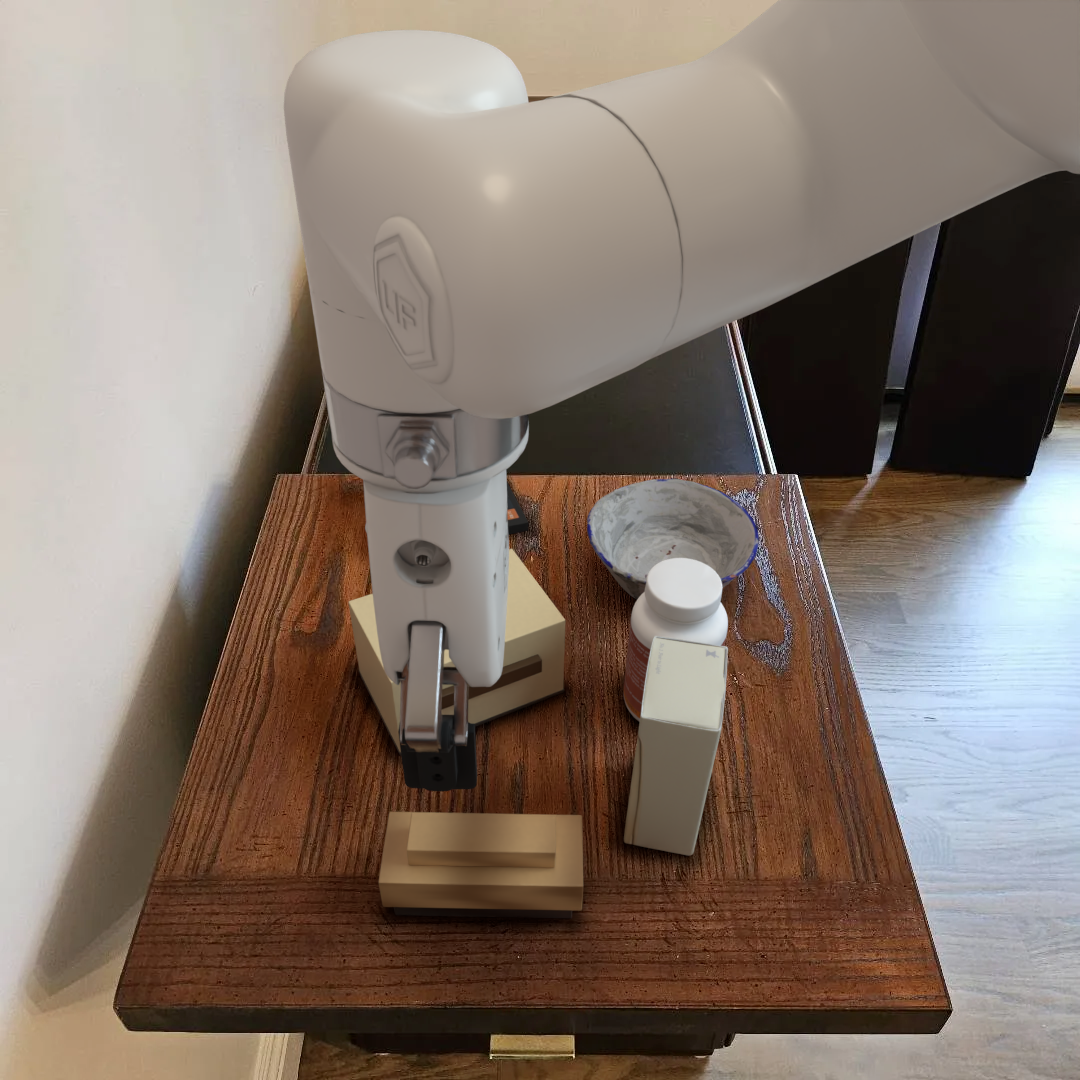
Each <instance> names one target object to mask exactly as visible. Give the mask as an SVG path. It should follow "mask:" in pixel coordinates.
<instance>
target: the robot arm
mask: <svg viewBox="0 0 1080 1080" xmlns="http://www.w3.org/2000/svg"><path fill="white" fill-rule="evenodd" d="M283 116H284V124H285V125H284V126H285V136H286V142H287V148H288V155H289V162H290V169H291V174H292V175H291V176H292V181H293V188H294V194H295V195H294V196H295V202H296V208H297V214H298V220H299V221H298V223H299V228H300V235H301V242H302V248H303V254H304V255H303V256H304V261H305V262H304V263H305V268H306V275H307V281H308V288H309V294H310V301H311V307H312V314H313V321H314V329H315V335H316V341H317V347H318V355H319V362H320V367H321V375H322V381H323V388H324V394H325V400H326V409H327V414H328V420H329V427H330V428H329V429H330V432H331V441H332V447H333V451H334V453H335V455H336V458H337V459H338V460H339V462H340V463H341V465H342V466H344V467H345V469H347V470H348V471H349V472H350V473H351V474H353V475H354V476H356V477H358V478H359V479H361V480H362V482H363V497H364V498H363V499H364V509H365V510H364V511H365V527H364V530H365V532H366V536H367V548H368V561H369V569H370V571H369V572H370V580H371V581H370V583H371V591H372V594H373V602H374V610H375V618H376V626H377V634H378V641H379V647H380V653H381V658H382V663H383V667H384V670H385V673H386V675H387V676H388V677H389V678H390V680H391V681H393V682H394V683H395V684H397V685H399V684H400V681H401V694H400V724H399V730H398V733H399V741H400V749H401V756H400V757H401V764H402V770H403V778H404V785H405V786H406V787H408V788H410V789H419V790H420V789H421V790H422V789H423V790H426V791H430V792H449V791H450V792H451V791H452V790H472V789H475V788H476V787H477V784H478V782H477V781H478V763H477V760H478V759H477V744H476V743H477V740H476V727H475V724H471V723H469V722H468V698H469V685H470V686H471V687H485V686H486V687H491V686H492V685H493V684H495V683H496V682H497V680H498V679H499V678H500V676H501V674H502V668H503V659H504V646H505V630H506V614H507V596H508V575H509V549H510V541H509V535H508V517H507V482H508V481H507V480H508V479H507V470H508V469H509V468H510V467H511V466H512V465H513V464H514V463H515V462H516V461H518V460H519V458H520V457H521V455H522V454H523V453H524V451H525V449H526V447H527V444H528V442H529V437H530V436H529V435H530V433H529V431H530V424H529V423H530V421H529V415H530V414H533V413H536V412H539V411H542V410H544V409H546V408H550V407H552V406H555V405H557V404H559V403H561V402H563V401H565V400H567V399H570V398H573V397H574V396H576V395H579V394H581V393H583V392H585V391H587V390H589V389H591V388H593V387H596V386H598V385H600V384H603V383H604V382H607V381H609V380H611V379H613V378H616V377H618V376H621V375H622V374H624V373H627V372H629V371H631V370H633V369H635V368H637V367H639V366H640V365H642V364H644V363H645V362H647V361H650V360H652V359H654V358H656V357H658V356H660V355H663V354H665V353H667V352H669V351H672V350H674V349H676V348H678V347H680V346H682V345H685V344H687V343H689V342H691V341H693V340H696V339H698V338H700V337H702V336H705V335H706V334H708V333H711V332H713V331H715V330H717V329H720V328H721V327H724V326H727V325H729V324H731V323H733V322H736V321H738V320H740V319H743V318H746V317H748V316H749V315H752V314H754V313H757V312H760V311H761V310H764V309H765V308H768V307H770V306H772V305H774V304H776V303H778V302H780V301H782V300H784V299H786V298H788V297H790V296H793V295H794V294H797V293H798V292H800V291H802V290H805V289H807V288H808V287H811V286H812V285H814V284H817V283H819V282H821V281H823V280H825V279H827V278H829V277H831V276H833V275H835V274H837V273H839V272H841V271H843V270H845V269H847V268H849V267H851V266H853V265H856V264H857V263H860V262H862V261H864V260H865V259H868V258H870V257H872V256H874V255H876V254H878V253H880V252H882V251H884V250H887V249H889V248H891V247H892V246H895V245H896V244H897V245H898V244H899V243H901V242H903V241H905V240H907V239H909V238H911V237H913V236H916V235H918V234H920V233H921V232H924V231H926V230H928V229H930V228H932V227H934V226H936V225H939V224H940V223H943V222H945V221H947V220H949V219H951V218H953V217H956V216H957V215H960V214H962V213H964V212H966V211H968V210H970V209H972V208H975V207H976V206H978V205H981V204H983V203H985V202H987V201H989V200H991V199H994V198H996V197H998V196H1000V195H1002V194H1004V193H1006V192H1008V191H1011V190H1013V189H1015V188H1017V187H1020V186H1022V185H1024V184H1026V183H1028V182H1031V181H1034V180H1036V179H1038V178H1041V177H1043V176H1045V175H1049V174H1053V173H1056V172H1057V173H1058V172H1062V171H1063V172H1064V171H1065V172H1066V171H1067V172H1069V173H1071V174H1076V175H1080V0H777V1H776V2H775V3H774V4H772V5H771V6H770V7H768V8H767V9H766V10H765V11H764V12H762V13H761V14H760V15H759V16H757V17H756V18H755V19H754V20H752V21H751V22H750V23H749V24H748V25H746V26H745V27H744V28H743V29H742V30H740V31H739V32H737V33H736V34H735V35H734V36H732V37H731V38H729V39H728V40H726V41H725V42H723V44H721V45H720V46H718V47H716V48H715V49H713V50H711V51H710V52H708V53H707V54H705V55H703V56H701V57H699V58H697V59H694V60H692V61H690V62H685V63H681V64H676V65H671V66H668V67H663V68H659V69H655V70H650V71H645V72H641V73H637V74H633V75H630V76H626V77H623V78H619V79H615V80H612V81H608V82H604V83H600V84H597V85H596V84H595V85H593V86H589V87H585V88H582V89H581V88H580V89H577V90H573V91H569V92H564V93H561V94H558V95H554V96H550V97H546V98H544V99H541V100H535V101H534V100H533V101H530V102H529V95H528V90H527V86H526V82H525V80H524V77H523V75H522V73H521V72H520V70H519V68H518V67H517V65H516V64H515V63H514V61H513V60H512V59H511V57H509V56H508V55H507V54H506V53H504V52H503V51H502V50H500V49H499V48H498V47H496V46H495V45H492V44H491V43H489V42H486V41H483V40H480V39H476V38H473V37H470V36H467V35H462V34H460V33H459V34H458V33H455V32H454V33H453V32H447V31H439V30H427V29H425V30H424V29H392V30H391V29H390V30H377V31H370V32H363V33H357V34H352V35H348V36H344V37H339V38H337V39H335V40H332V41H329V42H326V43H324V44H321V45H319V46H317V47H314V48H313V49H311V50H309V51H308V52H307V53H306V54H305V55H304V56H302V58H301V59H300V60H299V61H298V62H296V64H295V65H294V67H293V68H292V70H291V72H290V75H289V77H288V78H287V80H286V86H285V90H284V95H283ZM445 650H449V658H450V659H451V661H452V662H453V664H454V665H455V667H444V651H445ZM443 685H454V715H442V687H443Z"/></svg>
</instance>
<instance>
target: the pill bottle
mask: <svg viewBox="0 0 1080 1080" xmlns="http://www.w3.org/2000/svg"><path fill="white" fill-rule="evenodd" d="M722 594H723V588H722V582H721V579H720V577H719V575H718V574H717V573H716V572H715V571H714V570H713V569H712V568H711V567H709V566H708V565H706V564H704V563H702V562H699V561H697V560H693V559H688V558H672V559H667V560H664V561H661V562H659V563H658V564H656V565H655V566H654V567H653V568H652V569H651V570H650V571H649V573H648V576H647V580H646V586H645V592H644V593H643V594H641V596H640V597H639V598H638V599H637V600H636V601H635V602H634V605H633V607H632V610H631V616H630V622H629V623H630V624H629V633H628V641H627V642H628V643H627V653H626V663H625V673H624V682H623V700H624V703H625V706H626V707H625V708H627V710H628V712H629V713H630V715H631V716H632V717H633V718H634V719H635V720H636V721H637V722H639V723H640V715H641V707H642V700H643V692H644V685H645V678H646V672H647V666H648V660H649V655H650V650H651V646H652V641H653V638H654V637H655V636H660V637H667V638H674V639H682V640H687V641H694V642H701V643H706V644H713V645H718V646H726V641H727V637H728V636H727V635H728V628H729V618H728V614H727V611H726V609H725V607H724V605H723V603H722V602H721V601H722V596H723V595H722Z"/></svg>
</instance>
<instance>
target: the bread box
mask: <svg viewBox="0 0 1080 1080" xmlns="http://www.w3.org/2000/svg"><path fill="white" fill-rule="evenodd" d="M348 609H349V615H350V621H351V622H350V623H351V627H352V634H353V640H354V646H355V652H356V658H357V663H358V670H357V671H358V675H359V677H360V678H361V680H362V682H363V685H364V686H365V688H366V690H367V692H368V695H369V696H370V698H371V700H372V702H373V705H374V706H375V708H376V711H377V712H378V714H379V717H380V718H381V720H382V722H383V725H384V727H385V728H386V730H387V732H388V735H389V736H390V739H391V741H392V743H393V745H394V747H395V749H396V751H397V752H398V755H399V756H400V757H401V749H400V741H399V733H398V730H399V724H400V694H401V681H400V684H399V685H397V684H395V683H394V682H393V681H391V680H390V678H389V677H388V676H387V675H386V673H385V670H384V667H383V663H382V658H381V653H380V647H379V641H378V634H377V626H376V618H375V610H374V602H373V593H370V594H367V595H364V596H361V597H358V598H354V599H352V600H349V601H348ZM565 643H566V619H565V618H564V616H563V615H562V613H561V612H560V610H559V609H558V608H557V607H556V605H555V604H554V603H553V601H552V600H551V598H549V596H548V595H547V593H546V592H545V591H544V589H543V588H542V587H541V585H539V583H538V581H537V580H536V579H535V577H534V576H533V575H532V573H531V572H530V571H529V570H528V568H527V567H526V565H525V564H524V562H523V561H522V560H521V558H520V557H519V556H518V555H517V553H516V552H515V550H514V549H513V548H509V575H508V596H507V614H506V630H505V646H504V659H503V668H502V674H501V676H500V678H499V679H498V680H497V682H496V683H495V684H493V685H492V686H491V687H486V686H485V687H471V686H470V685H469V698H468V722H469V723H471V724H475V728H476V727H478V726H481V725H483V724H486V723H488V722H491V721H494V720H497V719H499V718H501V717H504V716H506V715H509V714H511V713H514V712H517V711H520V710H523V709H525V708H528V707H530V706H532V705H535V704H537V703H540V702H542V701H546V700H548V699H550V698H553V697H556V696H558V695H561V694H563V693H565V688H564V678H565V677H564V676H565V674H564V673H565V646H566V644H565ZM444 667H455V665H454V664H453V662H452V661H451V659H450V658H449V650H445V651H444ZM442 715H454V685H443V687H442Z"/></svg>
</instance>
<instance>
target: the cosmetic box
mask: <svg viewBox="0 0 1080 1080" xmlns="http://www.w3.org/2000/svg"><path fill="white" fill-rule="evenodd" d="M728 654H729V647H728V646H726V645H725V646H718V645H713V644H706V643H701V642H694V641H687V640H682V639H674V638H667V637H660V636H655V637H654V638H653V641H652V646H651V650H650V655H649V660H648V666H647V672H646V678H645V685H644V692H643V700H642V707H641V715H640V722H639V724H638V732H637V739H636V740H637V741H636V745H635V753H634V759H633V760H634V761H633V766H632V767H633V769H632V775H631V783H630V790H629V797H628V803H627V804H628V805H627V810H626V820H625V828H624V836H623V842H624V843H625V844H628V845H634V846H637V847H643V848H648V849H653V850H658V851H662V852H663V851H664V852H668V853H672V854H673V853H674V854H677V855H683V856H692V855H693V854H694V852H695V848H696V843H697V839H698V836H699V830H700V827H701V826H700V825H701V823H702V822H701V821H702V818H703V817H702V816H703V812H704V808H705V803H706V799H707V794H708V791H709V786H710V781H711V777H712V773H713V768H714V763H715V760H716V755H717V751H718V746H719V742H720V738H721V733H722V728H723V719H724V709H725V701H726V692H727V691H726V690H727V689H726V688H727V677H728V656H729V655H728Z"/></svg>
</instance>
